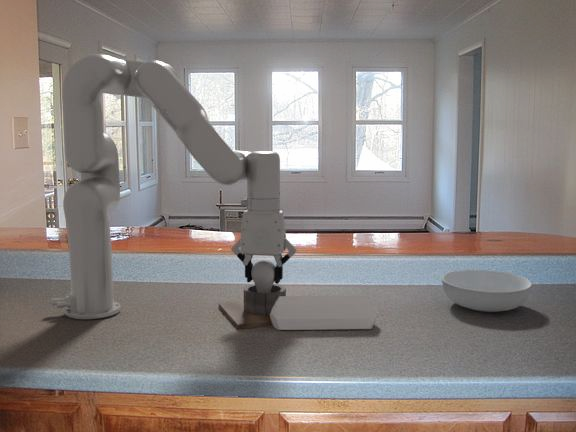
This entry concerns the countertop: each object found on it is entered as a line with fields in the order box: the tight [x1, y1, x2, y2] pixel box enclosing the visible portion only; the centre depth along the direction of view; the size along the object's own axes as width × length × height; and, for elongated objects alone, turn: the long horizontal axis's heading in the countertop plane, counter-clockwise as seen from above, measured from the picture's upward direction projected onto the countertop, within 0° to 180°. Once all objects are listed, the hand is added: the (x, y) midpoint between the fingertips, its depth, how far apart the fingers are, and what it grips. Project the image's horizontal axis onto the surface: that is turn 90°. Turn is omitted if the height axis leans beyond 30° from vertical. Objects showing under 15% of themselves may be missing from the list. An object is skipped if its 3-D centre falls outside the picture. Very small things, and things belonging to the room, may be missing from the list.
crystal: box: [270, 295, 379, 331], centre depth 145 cm, size 7×7×24 cm
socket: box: [218, 283, 287, 330], centre depth 153 cm, size 18×18×6 cm
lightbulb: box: [251, 259, 276, 293], centre depth 152 cm, size 6×6×11 cm
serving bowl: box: [441, 269, 533, 313], centre depth 158 cm, size 21×21×7 cm
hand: (263, 280), depth 152 cm, fingers closed on lightbulb, 6 cm apart
